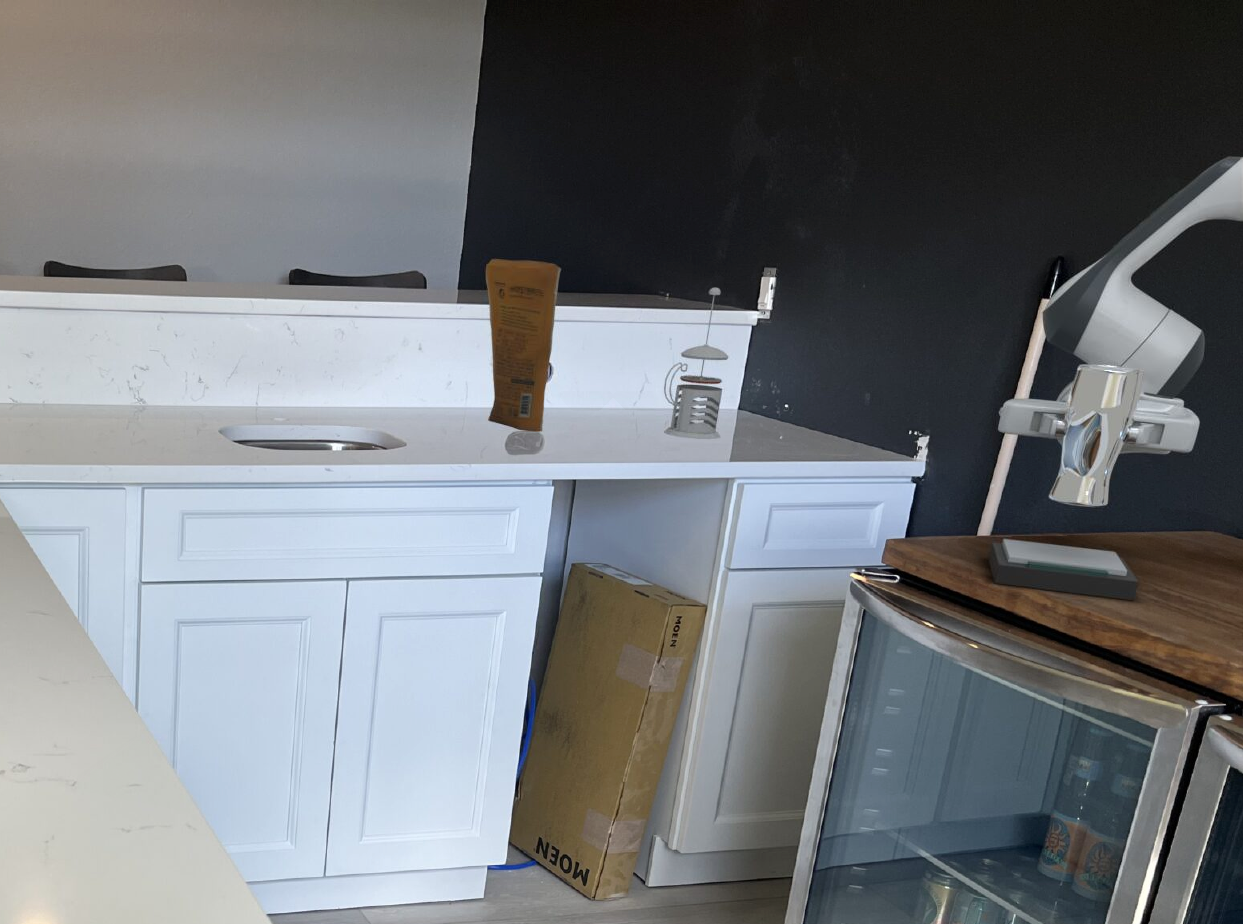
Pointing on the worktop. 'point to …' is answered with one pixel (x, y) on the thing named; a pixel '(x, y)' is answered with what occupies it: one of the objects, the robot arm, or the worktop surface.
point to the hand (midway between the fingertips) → (1096, 432)
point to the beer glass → (1095, 432)
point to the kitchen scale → (1062, 569)
